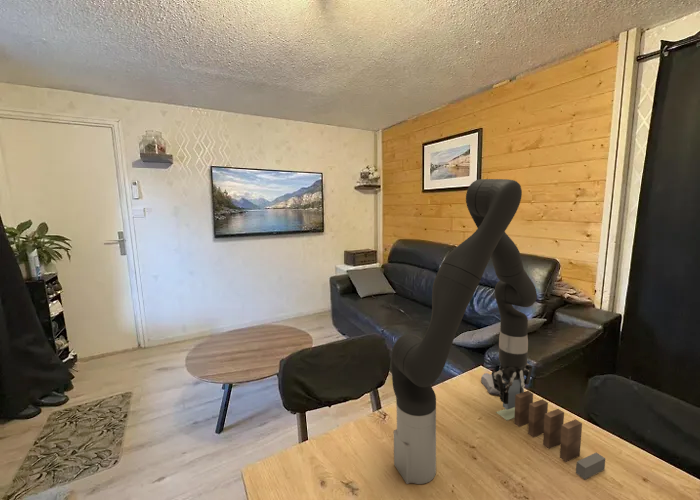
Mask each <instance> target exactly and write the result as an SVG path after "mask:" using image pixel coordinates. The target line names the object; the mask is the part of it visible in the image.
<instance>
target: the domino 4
mask: <svg viewBox="0 0 700 500" xmlns="http://www.w3.org/2000/svg"><path fill="white" fill-rule="evenodd" d="M564 417H565V412H564V411H563V410H561V409H559V408H556V409H554V410H551V411H547V413H545V418H544V433H543V436H542V438H543V439H542V440H543V441H542V446H544V447H545V448H547V449H548V450H550V449H552V448H556V447H557V446H560V444H561V428H562V424H565V423H564V422H565V421H564V420H565V418H564Z"/></svg>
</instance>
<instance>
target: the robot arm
mask: <svg viewBox="0 0 700 500" xmlns="http://www.w3.org/2000/svg"><path fill="white" fill-rule="evenodd" d="M522 190H523V189H522V187H521V184H520V183H519V182H518V181H517V180H514V179H510V178H509V179H507V178H505V179H504V178H499V179H498V178H482V179H475V180H474V181H472V182H471V184H470V185H469V186H468V187H467V191H466V195H465V203H466V208H467V210H468V212H469V214H470V217H471V219H472V220H473V222H474V224H475V226H476V228H477V229H475V231H474V232H473V233H472V234H471V235H470V236H469V237H468V238H466V239H465V240H463V242H461V243H460V244H459V245H457V246H456V247H455V248H453V249H452V250H451V251H450V252H449V253H448V254H447V255H446V256H445V258H444V259H443V261H442V263H441V265H440V267H439V270H437V273H436V275H435V278H434V280H433V284H432V293H431V317H430V322H429V324H428V328H427V330H426V331H425V334H424V336H423V338H422V337H420V336H418V335H417V334H413V333H408V334H404V335H401V336H400V337H399V338H397V340H396V341H395V342H394V345H393V348H392V351H391V356H390V357H391V359H390V362H391V363H390V364H391V365H390V366H391V380H392V389H393V392H394V395H395V398H396V399H395V400H396V401H395V402H396V405H395V406H396V429H394V430H393V465H394V466H395V468H396V469H397V472H398V473H399V474H400V476H401V477H402V479H403V480H404V482H405V484H406V485H407V484H408V485H409V484H417V485H423V484H427V483H430V482H432V481H433V480H434V478H435V476H436V473H437V396H436V395H437V394H436V393H435V391H434V389H433V387H432V385H433V384H434V383H435V382H436V381H437V380H438V378H439V377H440V376H441V374H442V372H443V370H444V367H445V366H446V363H447V359H448V357H449V354H450V351H451V348H452V345H453V342H454V340H455V336H456V334H457V331H458V330H459V326H460V325H461V323H462V319H463V317H464V315H465V313H466V310H467V309H468V306H469V304H470V302H471V301H472V298H473V296H474V294H475V292H476V290H477V288H478V287H479V284H480V281H481V280H482V278H483V276H484V272H485V270H486V268H487V266H488V264H489V261H490V259H491V262H492V265H493V269H494V272H495V276H496V277H497V279H498V281H497V283H496V284H495V287H494V297H495V301H496V304H497V308H498V312H499V317H500V325H499V327H500V330H499V331H500V333H499V337H498V338H499V339H498V361H499V362H500V363H499V364H500V366H499V370H498V371H495V370H493V371H492V372H491V374H492V378H493V383H494V388H495V389H497V390H498V391H499V392H500V395H499V400H500V402H502V404H503V403H504V404H508V396H509V393H508V391H509V388H510V386H512V383H513V381H514V380H518V379H520V380H519V382H520V385H521V386H520V393H523V388H524V389H525V386H529V384H530V380H531V376H532V373H533V372H532V371H533V368H534V367H533V366H532V365H531V364H529V363H528V351H529V350H528V349H529V339H528V327H529V325H528V324H529V320H528V315H526V314H525V313H523V312H522V311H519V310H517V309H516V308H514V306H517V307H522V308H529V307H531V306H533V305H534V304H535V303H536V301H537V296H538V293H537V288H536V286H535V284H534V282H533V281H532V279H531V278H530V276H529V274H528V273H527V272H526V270H525V269H524V265H523V259H522V255H521V253H520V251H519V248H518V247H517V245H516V243H515V242H514V241H513V240H512V239H511V237H510V236H509V235H508V234H507V233H506V230H507V229H508V227H509V226H510V224H511V221H512V220H513V219H514V217H515V215H516V213H517V211H518V209H519V206H520V204H521V201H522V195H523V194H522ZM504 379H506V380H508V382H506V381H505V380H504ZM504 384H505V385H506V386H505V387H503V385H504Z"/></svg>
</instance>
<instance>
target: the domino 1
mask: <svg viewBox="0 0 700 500" xmlns="http://www.w3.org/2000/svg"><path fill="white" fill-rule="evenodd" d="M504 380H505V381H506V382H508V380H506V379H504ZM519 380H520V379H518V380H514V381H513V383H512V386H510V388H509V391H508V393H509V396H508V404H504V403H503V402H502V407H503V408H504V409H507V410H508V409H511V408H514V407H515V395H516V394H519V393H520V386H521V385H520V382H519ZM505 386H506V385H505V384H504V385H503V387H505Z"/></svg>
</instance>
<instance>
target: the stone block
mask: <svg viewBox="0 0 700 500" xmlns="http://www.w3.org/2000/svg"><path fill="white" fill-rule="evenodd" d="M480 381H481V384H482V385H483V386H484V387H485V388H486V390H487V392H488V394H491V395H496V396H497V395H498V396H500V392H499V391H498V390H497V389H495V388H494V383H493V378H492V373H491V374H490V373H487V372H485V373H484V374H482V375H481V378H480ZM524 389H525V387H524V388H523V392H525V390H524Z"/></svg>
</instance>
